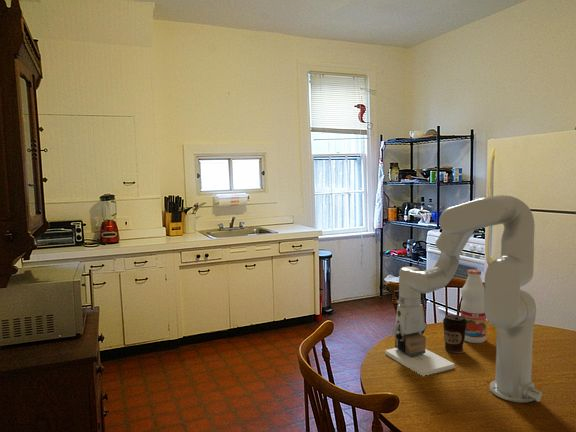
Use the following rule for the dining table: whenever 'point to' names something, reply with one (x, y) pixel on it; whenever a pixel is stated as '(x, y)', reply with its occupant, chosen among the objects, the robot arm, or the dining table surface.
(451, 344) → the coffee cup
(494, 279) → the robot arm
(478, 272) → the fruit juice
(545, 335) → the dining table surface
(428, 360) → the board
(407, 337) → the block
